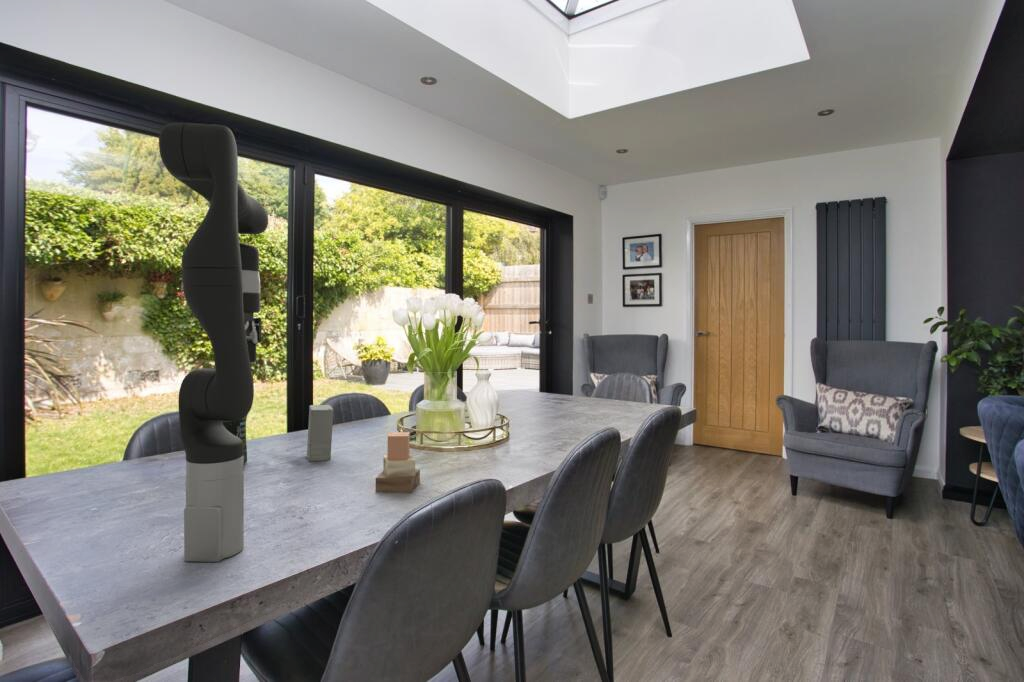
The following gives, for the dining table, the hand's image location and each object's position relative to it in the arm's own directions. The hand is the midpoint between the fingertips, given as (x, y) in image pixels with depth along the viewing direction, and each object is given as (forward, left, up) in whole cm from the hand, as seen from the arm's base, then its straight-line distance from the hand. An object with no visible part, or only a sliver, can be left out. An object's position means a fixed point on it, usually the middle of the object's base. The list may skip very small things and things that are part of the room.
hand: (241, 363), depth 125 cm
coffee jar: (+32, +19, -33) cm, 49 cm away
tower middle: (+15, -33, -29) cm, 46 cm away
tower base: (+15, -33, -33) cm, 49 cm away
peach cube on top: (+15, -33, -25) cm, 44 cm away
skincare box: (+43, -3, -33) cm, 54 cm away
